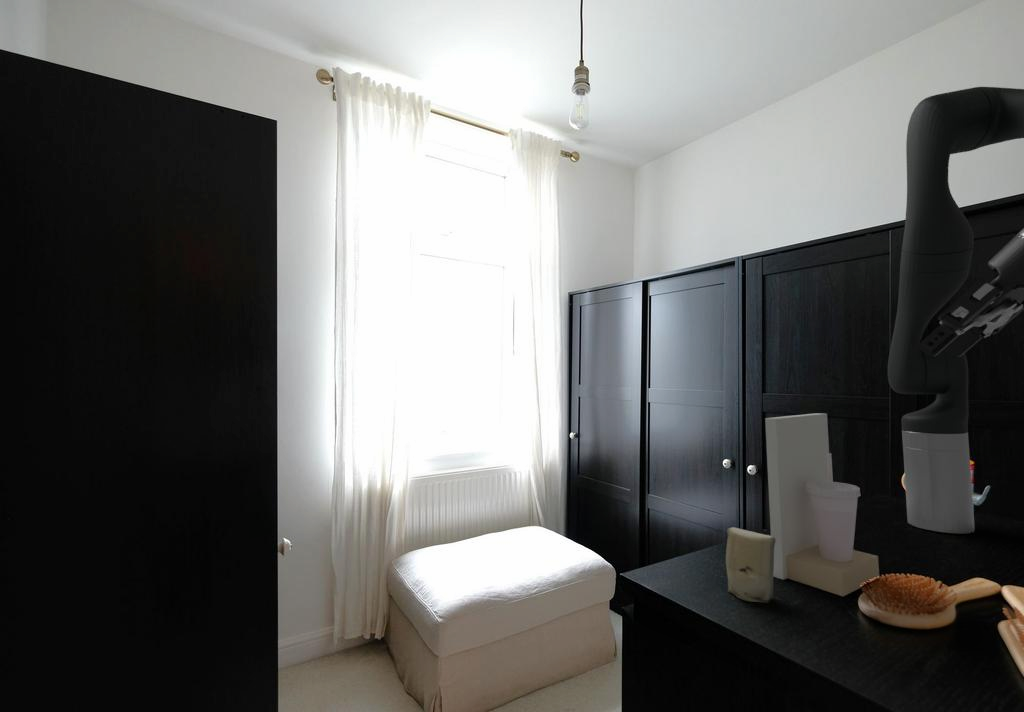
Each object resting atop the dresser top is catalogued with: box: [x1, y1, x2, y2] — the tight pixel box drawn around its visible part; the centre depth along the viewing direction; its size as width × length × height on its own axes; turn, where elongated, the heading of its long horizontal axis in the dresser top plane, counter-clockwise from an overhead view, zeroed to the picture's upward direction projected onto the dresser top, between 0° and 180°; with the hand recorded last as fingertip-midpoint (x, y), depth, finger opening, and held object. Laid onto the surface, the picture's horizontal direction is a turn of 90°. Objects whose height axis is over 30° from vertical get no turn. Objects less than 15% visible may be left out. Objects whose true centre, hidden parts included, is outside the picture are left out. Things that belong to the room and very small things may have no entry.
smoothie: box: [806, 452, 861, 562], centre depth 68 cm, size 6×6×14 cm
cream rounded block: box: [725, 526, 776, 604], centre depth 63 cm, size 6×5×8 cm
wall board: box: [764, 412, 880, 597], centre depth 69 cm, size 14×8×22 cm, turn 122°
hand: (937, 352), depth 66 cm, fingers open, 8 cm apart
